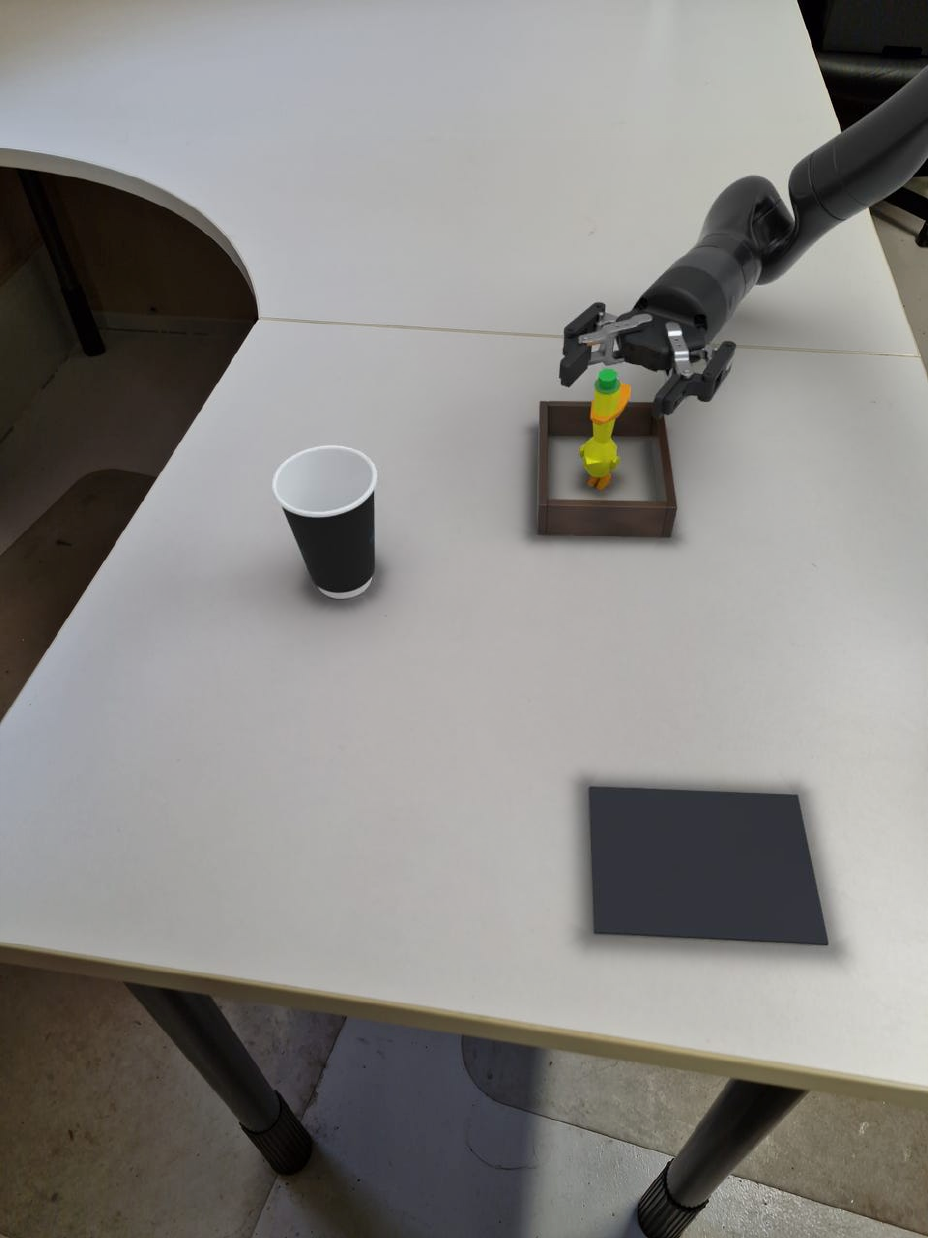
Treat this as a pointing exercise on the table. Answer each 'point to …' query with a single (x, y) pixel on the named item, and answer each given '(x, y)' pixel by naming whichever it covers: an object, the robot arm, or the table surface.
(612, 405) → the toy figure
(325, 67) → the table surface
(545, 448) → the tray box
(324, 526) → the dixie cup
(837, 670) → the table surface
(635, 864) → the rubber pad
